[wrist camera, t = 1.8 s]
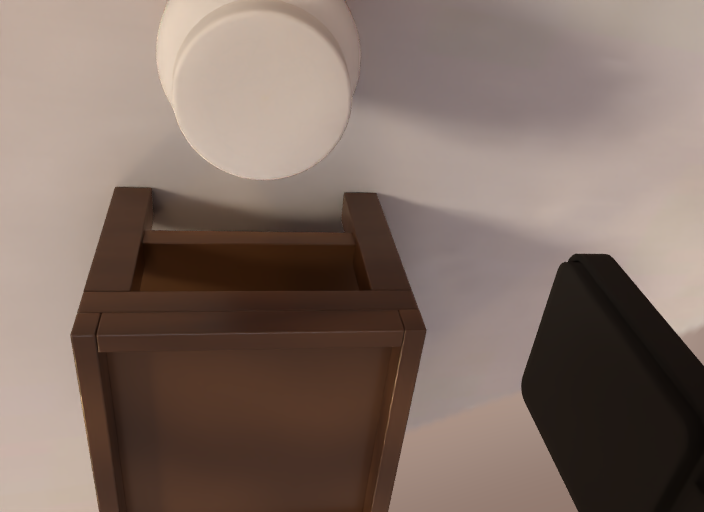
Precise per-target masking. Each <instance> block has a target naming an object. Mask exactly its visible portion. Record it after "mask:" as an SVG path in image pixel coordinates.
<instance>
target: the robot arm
mask: <svg viewBox="0 0 704 512" xmlns="http://www.w3.org/2000/svg"><path fill="white" fill-rule="evenodd" d="M521 389H522V396H523V399H524V401H525V403H526V405H527V408H528V410H529V412H530V414H531V416H532V418H533V420H534V422H535V424H536V426H537V428H538V430H539V432H540V434H541V436H542V438H543V440H544V442H545V444H546V446H547V448H548V451H549V452H550V455H551V457H552V459H553V461H554V463H555V465H556V467H557V469H558V471H559V473H560V475H561V477H562V479H563V481H564V483H565V485H566V487H567V489H568V491H569V493H570V496H571V498H572V500H573V501H574V504H575V506H576V508H577V510H578V512H704V366H703V365H702V363H701V362H700V361H699V360H698V359H697V357H696V356H695V355H694V354H693V353H692V351H691V350H690V349H689V348H688V347H687V345H686V344H685V343H684V342H683V341H682V340H681V338H680V337H679V336H678V335H677V334H676V332H675V331H674V330H673V329H672V328H671V326H670V325H669V324H668V323H667V322H666V320H665V319H664V318H663V317H662V316H661V315H660V313H659V312H658V311H657V310H656V309H655V307H654V306H653V305H652V304H651V303H650V301H649V300H648V299H647V298H646V297H645V295H644V294H643V293H642V292H641V291H640V290H639V288H638V287H637V286H636V285H635V284H634V282H633V281H632V280H631V279H630V278H629V276H628V275H627V274H626V273H625V272H624V270H623V269H622V268H621V267H620V266H619V265H618V263H617V262H616V261H615V260H614V259H613V258H612V257H611V256H610V255H607V254H574V255H572V256H571V257H570V259H569V260H568V262H564V263H562V264H561V265H560V266H559V268H558V271H557V274H556V277H555V280H554V283H553V286H552V289H551V292H550V295H549V298H548V301H547V304H546V307H545V310H544V313H543V316H542V319H541V322H540V325H539V329H538V332H537V335H536V338H535V341H534V344H533V347H532V350H531V353H530V356H529V359H528V362H527V365H526V368H525V371H524V374H523V377H522V383H521Z"/></svg>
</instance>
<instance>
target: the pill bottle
mask: <svg viewBox="0 0 704 512" xmlns="http://www.w3.org/2000/svg"><path fill="white" fill-rule="evenodd" d="M156 60H157V68H158V73H159V78H160V81H161V84H162V87H163V90H164V92H165V94H166V97H167V99H168V100H169V102H170V104H171V106H172V107H173V109H174V112H175V116H176V119H177V122H178V125H179V127H180V129H181V131H182V133H183V135H184V136H185V138H186V140H187V141H188V142H189V144H190V145H191V147H192V148H193V149H194V150H195V151H196V152H197V153H198V154H199V155H200V156H201V157H202V158H204V159H205V160H206V161H208V162H209V163H210V164H212V165H213V166H215V167H216V168H218V169H220V170H222V171H224V172H227V173H230V174H232V175H235V176H239V177H242V178H246V179H254V180H274V179H281V178H286V177H290V176H293V175H296V174H299V173H301V172H303V171H306V170H308V169H309V168H311V167H313V166H314V165H316V164H317V163H319V162H320V161H321V160H322V159H324V158H325V157H326V156H327V155H328V154H329V153H330V152H331V151H332V149H333V148H334V147H335V146H336V144H337V143H338V142H339V140H340V139H341V137H342V135H343V133H344V131H345V129H346V126H347V124H348V120H349V117H350V112H351V105H352V97H353V95H354V92H355V89H356V86H357V83H358V78H359V73H360V64H361V50H360V41H359V36H358V32H357V28H356V25H355V22H354V19H353V17H352V14H351V12H350V10H349V8H348V6H347V4H346V2H345V0H168V2H167V4H166V7H165V9H164V12H163V15H162V18H161V22H160V26H159V30H158V35H157V43H156Z"/></svg>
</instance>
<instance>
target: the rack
mask: <svg viewBox="0 0 704 512" xmlns="http://www.w3.org/2000/svg"><path fill="white" fill-rule="evenodd" d="M153 219H154V214H153V199H152V189H151V188H128V187H115V189H114V193H113V196H112V199H111V203H110V206H109V209H108V212H107V216H106V219H105V222H104V226H103V229H102V232H101V235H100V239H99V242H98V245H97V249H96V252H95V255H94V258H93V262H92V265H91V268H90V272H89V275H88V278H87V282H86V285H85V288H84V293H83V295H82V299H81V302H80V305H79V309H78V312H77V315H76V319H75V322H74V325H73V328H72V332H71V335H70V336H71V343H72V349H73V355H74V361H75V367H76V373H77V379H78V385H79V392H80V398H81V404H82V410H83V416H84V422H85V428H86V434H87V440H88V447H89V453H90V459H91V465H92V471H93V477H94V483H95V489H96V495H97V502H98V508H99V512H388V509H389V505H390V500H391V495H392V491H393V486H394V481H395V476H396V472H397V467H398V462H399V458H400V453H401V448H402V443H403V439H404V434H405V429H406V425H407V420H408V415H409V410H410V406H411V401H412V396H413V392H414V387H415V382H416V378H417V373H418V368H419V363H420V359H421V354H422V349H423V345H424V340H425V335H426V327H425V324H424V322H423V319H422V316H421V313H420V311H419V309H418V306H417V303H416V301H415V298H414V295H413V292H412V290H411V287H410V284H409V281H408V279H407V276H406V273H405V270H404V268H403V265H402V262H401V259H400V257H399V254H398V251H397V248H396V246H395V243H394V240H393V237H392V235H391V232H390V229H389V226H388V224H387V221H386V218H385V216H384V213H383V210H382V207H381V205H380V202H379V199H378V196H377V194H376V193H344V199H343V208H342V217H341V222H342V226H343V229H344V233H332V232H246V231H161V230H151V229H152V224H153Z"/></svg>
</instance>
